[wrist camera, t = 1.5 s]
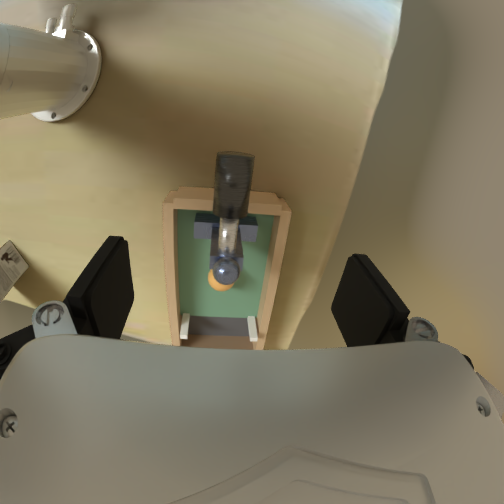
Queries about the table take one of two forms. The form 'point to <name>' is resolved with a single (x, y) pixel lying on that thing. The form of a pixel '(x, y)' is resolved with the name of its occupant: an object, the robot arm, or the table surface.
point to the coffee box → (10, 268)
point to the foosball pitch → (197, 269)
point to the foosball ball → (215, 284)
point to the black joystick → (229, 216)
